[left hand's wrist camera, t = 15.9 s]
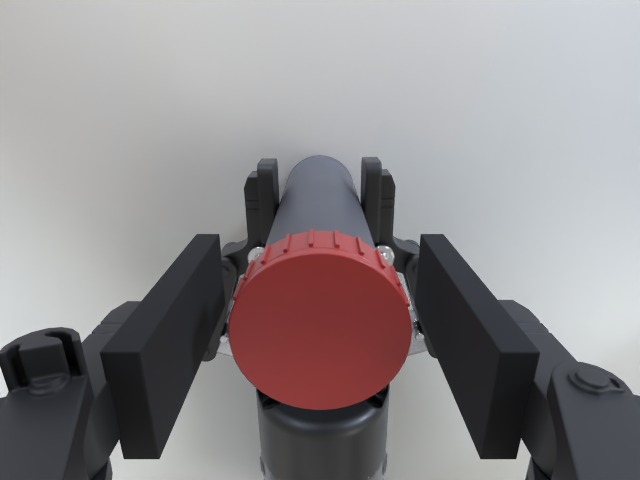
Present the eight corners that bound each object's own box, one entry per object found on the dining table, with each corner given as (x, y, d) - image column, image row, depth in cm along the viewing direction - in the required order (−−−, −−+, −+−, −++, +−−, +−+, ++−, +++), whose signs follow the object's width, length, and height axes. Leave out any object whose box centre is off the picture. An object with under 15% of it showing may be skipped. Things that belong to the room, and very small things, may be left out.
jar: (277, 206, 26) (224, 360, 11) (300, 145, 25) (272, 231, 10) (338, 229, 26) (360, 403, 12) (363, 170, 25) (423, 285, 11)
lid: (340, 397, 13) (343, 438, 12) (207, 325, 12) (190, 359, 11) (436, 285, 12) (454, 315, 10) (294, 193, 11) (290, 212, 9)
